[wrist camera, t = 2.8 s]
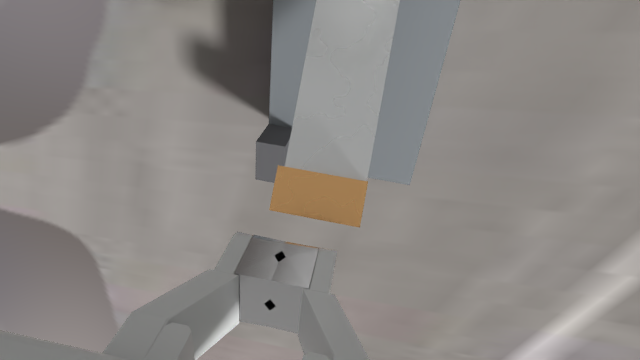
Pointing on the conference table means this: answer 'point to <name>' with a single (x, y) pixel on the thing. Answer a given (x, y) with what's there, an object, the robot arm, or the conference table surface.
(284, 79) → the clamp block
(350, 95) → the lever
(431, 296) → the conference table surface
